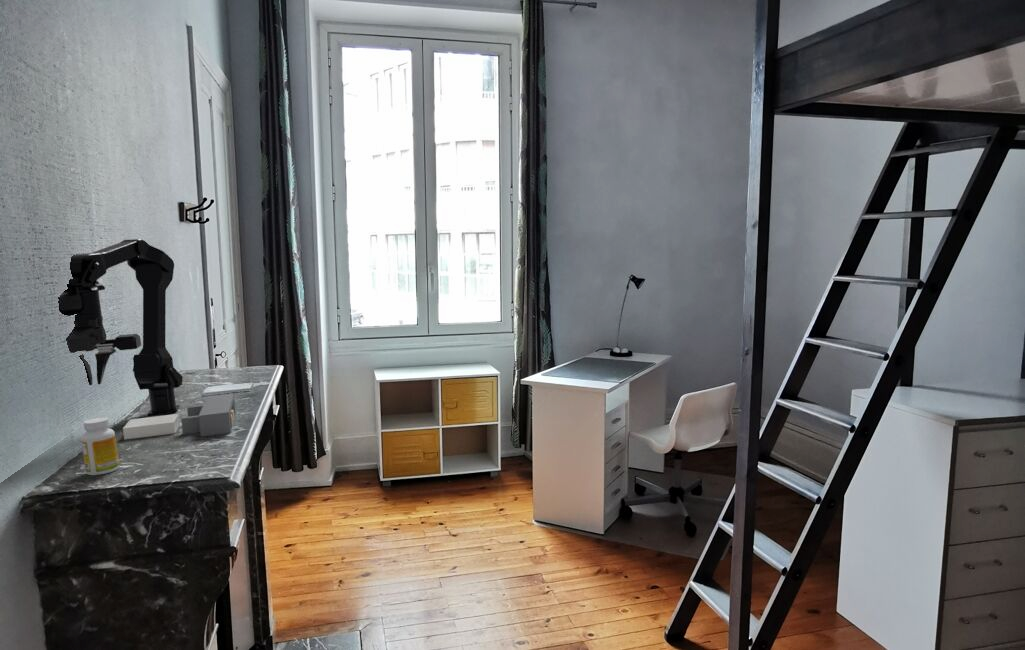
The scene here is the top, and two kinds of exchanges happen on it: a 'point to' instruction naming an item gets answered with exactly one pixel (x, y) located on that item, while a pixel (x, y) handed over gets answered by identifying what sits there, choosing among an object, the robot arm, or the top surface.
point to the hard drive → (227, 389)
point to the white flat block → (151, 426)
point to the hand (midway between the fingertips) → (95, 384)
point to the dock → (210, 416)
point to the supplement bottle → (99, 447)
